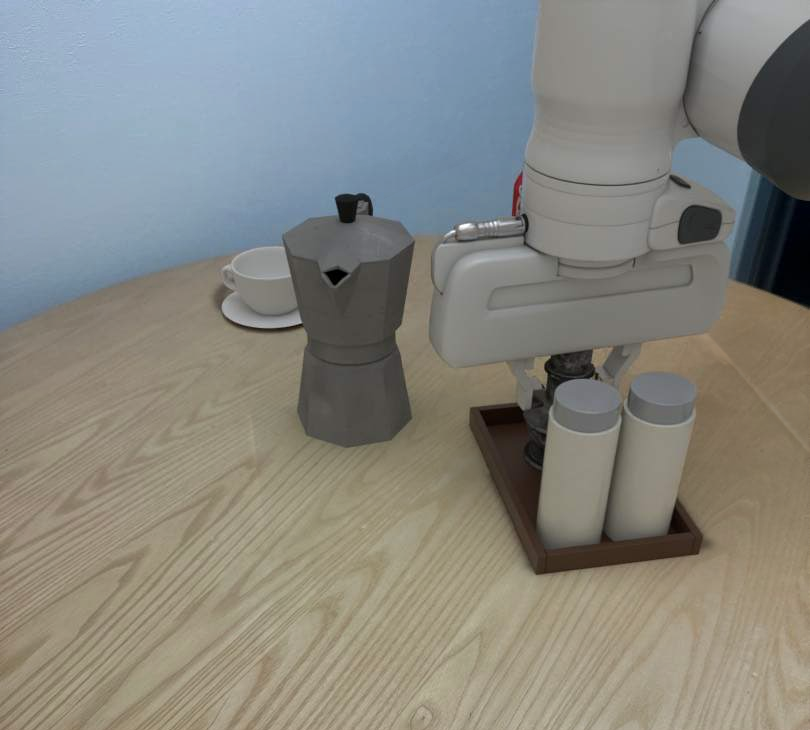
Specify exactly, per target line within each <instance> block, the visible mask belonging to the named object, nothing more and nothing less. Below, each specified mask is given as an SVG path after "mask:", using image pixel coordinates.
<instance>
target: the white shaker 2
mask: <svg viewBox="0 0 810 730" xmlns="http://www.w3.org/2000/svg"><path fill="white" fill-rule="evenodd" d="M697 397H698V388H697V387H696V385H695V384H694V383H693V382H692V381H691V380H689V378H688V379H687V378H686V377H685V376H682V375H680V374H676V373H672V372H668V371H646V372H643V373H640V374H637V375H636V376H634V377H633V378H632V379H631V380H630V382H629V388H628V394H627V396H626V397H625V399H624V400H623V403H622V408H621V413H620V414H621V417H622V421H621V427H620V433H619V438H618V444H617V450H616V456H615V461H614V467H613V473H612V478H611V484H610V490H609V495H608V501H607V507H606V512H605V518H604V524H603V530H604V532H605V533H606V535H607V536H608V537H609V538H610V539H611V540H613V541H622V540H630V539H638V538H647V537H655V536H663V535H668V532H669V528H670V523H671V519H672V515H673V510H674V506H675V502H676V498H678V493H679V488H680V485H681V480H682V477H683V476H682V475H683V473H684V468H685V464H686V463H685V462H686V458H687V456H688V455H687V454H688V450H689V446H690V441H691V437H692V433H693V429H694V425H695V421H696V416H697V409H696V407H695V405H696V401H697Z"/></svg>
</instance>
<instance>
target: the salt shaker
mask: <svg viewBox="0 0 810 730" xmlns="http://www.w3.org/2000/svg"><path fill="white" fill-rule="evenodd" d="M593 353H594V349H593V350H586V351H579V352H572V353H565V354H558V355H551V356H550V358H549V359H547V360H545V362H544V364H543V370H544V372H545V373H546V374H547V376H546V384H545V388H546V389H545V397H544V398H543V399H542V400H543V401H544V406H543V407H542V408H537V409H531V410H530V409H529V410H524V413H523V416H524V418H525V421H526V422H527V428H528V430H529V433H530V436H531V438H532V440H530V441H529V442H528V443H527V444H526V446H525V447H524V457H525V460H526V461H527V462H528V463H529V464H530V465H531V466H532V467H534V468H535V469H537V470H540V471H542V467H543V458H544V450H545V441H546V433H547V424H548V416H549V410H550V408H551V406H552V405H553V401H554V393H555V390H556V388H557V387H558V386H559V385H560V384H562V383H564V382H566V381H569V380H574V379H592V377H593V376H594V374H595V372H596V370H595V367H596V366H595V365H594V364H593V363H592V360H593Z"/></svg>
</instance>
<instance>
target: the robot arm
mask: <svg viewBox="0 0 810 730" xmlns="http://www.w3.org/2000/svg"><path fill="white" fill-rule="evenodd" d="M535 22H536V23H535V29H534V38H533V45H532V46H533V47H532V58H531V70H530V88H531V94H532V98H533V107H534V109H533V110H534V112H533V113H534V115H533V122H532V127H531V131H530V134H529V137H528V139H527V142H526V145H525V149H524V156H523V158H524V161H523V165H524V166H523V165H522V167H523V179H522V191H521V204H520V216H519V215H518V216H512V215H511V216H502V217H497V218H492V219H488V220H487V219H486V220H482V221H481V220H480V221H476V220H465V221H461V222H458V223H455V224H454V225H453V229H450V230H449V231H446V232H445V233H443V234H442V235H441V236H440V237H439V238H438V239H437V241H436V242H434V244H433V245H432V248H431V253H430V280H431V283H432V286H433V291H432V297H431V305H430V311H429V319H428V321H429V322H428V323H429V324H428V339H429V341H430V344H431V346H432V348H433V350H434V352H435V353H436V355H437V356H438V357H439V358H440V359H441V361H443V362H444V363H445V365H447V366H448V367H449V368H451V369H453V370H455V369H456V370H458V369H465V368H470V367H471V368H472V367H479V366H486V365H492V364H493V365H495V364H499V363H506V365H507V366H508V368H509V371H510V373H512V375H513V377H514V379H515V380H516V389H515V400H516V403H518V405H519V406H520V408H521V409H522V410H523V411H524V410H529V409H530V410H531V409H537V408H542V407H543V406H544V401H543V400H542V399H543V398H544V397H545V390H546V386H544V384H543V383H542V382H540V381H541V380H540V379H539V378H538V376H537V375H535V376H534V375H533V376H528V374H527V371H532V370H533V369H534V366H535V365H534V364H535V359H536V358H543V357H549V356H550V357H551V355H558V354H565V353H572V352H579V351H586V350H593V351H594V350H600V349H607V348H612V349H611V351H610V352H609V354H608V356H606V359H605V360H604V362H603V363H602V365H601V366H594V367H595V370H596V372H595V374H594V376H593V377H592V378H591V379H593V380H598V381H602V382H605V383H607V384H609V385H611V386H613V387H614V388H616V389H617V390H618V391H619V392H620V385H621V379H622V377H624V376H625V374H626V373H627V372H628V371H629V370H630V368H631V367H632V366H633V364H634V363H635V362H636V360H637V359H638V358H639V357H640V355H641V351H642V344H643V343H650V342H657V341H662V340H663V341H664V340H670V339H671V340H672V339H677V338H685V337H691V336H699V335H705V334H706V333H708V332H709V331H710V330H711V329H712V328H713V327H714V326H715V325H716V323H717V322H718V321H719V320H720V318H721V315H722V312H723V310H724V309H723V308H724V304H725V300H726V294H727V289H728V283H729V279H730V278H729V277H730V270H731V251H730V248H729V246H728V244H727V243H726V241H725V240H727V239H728V238H729V237H730V236H731V234H732V233H733V230H734V227H735V223H736V219H737V212H736V210H735V208H734V207H733V206H731V205H730V204H729V203H728V202H726V200H724V199H723V198H722V197H721V196H719V195H717V194H716V193H715V192H713V190H710V189H709V188H707V187H706V186H704V185H702V184H700V183H699V182H697V181H695V180H693V179H691V178H689V177H687V176H685V175H683V174H679V173H676V172H672V166H673V158H674V156H673V155H674V152H675V149H676V146H678V144H679V143H680V142H681V141H683V140H686V139H698V138H701V139H702V140H703V141H705V142H706V143H708V144H710V145H711V146H713V147H715V148H717V149H719V150H721V151H723V152H725V153H727V154H729V155H731V156H733V157H735V158H737V159H739V160H740V161H742V162H744V163H746V165H748V166H749V167H750V168H751V169H752V170H754V171H755V172H756V173H758V174H759V175H761V176H762V177H763V178H764V179H766V180H767V181H768V182H770V183H771V184H773V185H774V186H776V187H777V188H778V189H780V190H781V191H782V192H784V193H785V194H786V195H788V196H790V197H792V198H795V199H797V200H801V201H802V200H803V201H807V202H810V0H538V6H537V12H536V21H535ZM451 238H453V239H451Z"/></svg>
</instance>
